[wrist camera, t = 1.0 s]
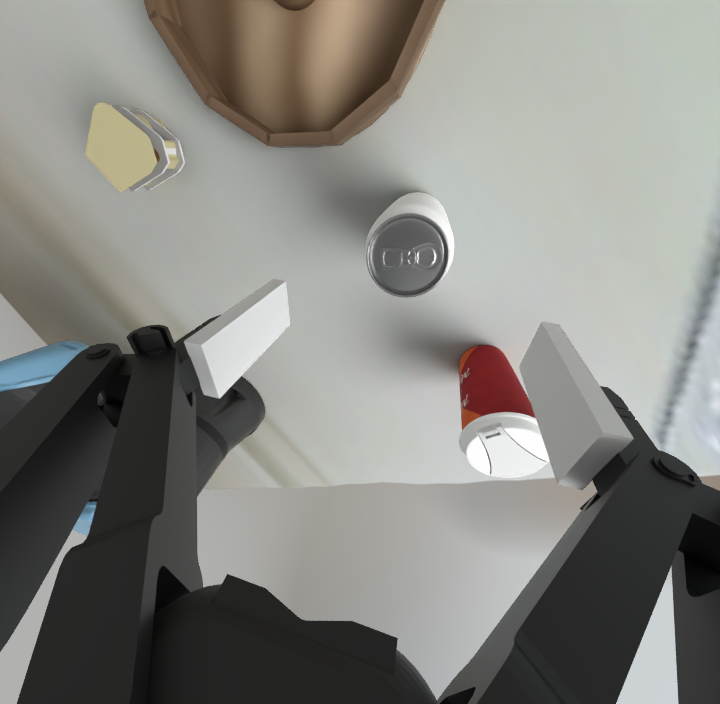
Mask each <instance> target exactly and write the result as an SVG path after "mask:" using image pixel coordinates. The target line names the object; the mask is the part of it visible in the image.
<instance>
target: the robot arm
mask: <svg viewBox="0 0 720 704" xmlns="http://www.w3.org/2000/svg"><path fill="white" fill-rule="evenodd" d="M289 325H290V315H289V306H288V296H287V287H286V281H282V280H276V279H273V280H271V281H270V282H268V283H267V284H266V285H264V286H263V287H261V288H260V289H258V290H257V291H255V292H254V293H253V294H251V295H250V296H248V297H247V298H245V299H244V300H242V301H241V302H240V303H238V304H237V305H235V306H234V307H232V308H231V309H229V310H228V311H227V312H225V313H224V314H222V315H219V316H216V317H213V318H211V319H209V320H207V321H206V322H204V323H203V324H202V326H201V325H200V326H199V327H197V328H196V329H195V330H193V331H191V332H190V333H188V334H187V335H185V336H184V337H182V338H181V339H179V340H178V341H176V342H175V343H174V341H173V339H172V336H171V334H170V331H169V329H168V327H166V326H163V325H150V326H146V327H142V328H139V329H137V330H134V331H133V332H131V333H130V334H129V335H128V336H127V339H128V341H129V343H130V345H131V347H132V349H133V351H134V353H135V354H122V352H121V350H120V348H119V347H118V345H116V344H111V343H105V344H97V345H95V346H94V345H93V346H90V347H89V346H88V345H86V344H84V343H82V342H78V341H63V342H58V343H55V344H52V345H48V346H45V347H42V348H39V349H36V350H33V351H30V352H27V353H24V354H21V355H18V356H15V357H12V358H9V359H6V360H3V361H1V362H0V651H1V650H2V649H3V647H4V646H5V644H6V643H7V642H8V640H9V638H10V637H11V635H12V634H13V632H14V630H15V629H16V627H17V625H18V624H19V622H20V620H21V619H22V617H23V615H24V614H25V612H26V611H27V609H28V607H29V605H30V604H31V602H32V600H33V598H34V597H35V595H36V593H37V591H38V589H39V588H40V586H41V584H42V582H43V581H44V579H45V577H46V575H47V574H48V572H49V570H50V568H51V566H52V564H53V563H54V561H55V559H56V558H57V556H58V554H59V552H60V550H61V549H62V547H63V545H64V543H65V542H66V540H67V538H68V536H69V535H70V533H71V531H72V530H74V531H77V532H79V533H82V534H84V535H87V539H86V540H85V541H84V542H83V543H82V544H79V545H77V546H75V547H72V548H71V549H70V550H69V551H68V553H67V554H66V555H65V557H64V559H63V561H62V563H61V566H60V568H59V571H58V574H57V578H56V581H55V584H54V587H53V590H52V593H51V597H50V600H49V603H48V606H47V609H46V613H45V616H44V619H43V622H42V625H41V628H40V632H39V635H38V638H37V641H36V644H35V648H34V651H33V654H32V657H31V660H30V664H29V667H28V670H27V673H26V676H25V679H24V683H23V686H22V689H21V692H20V695H19V698H18V702H17V704H616V702H617V699H618V697H619V694H620V692H621V690H622V687H623V685H624V682H625V679H626V677H627V675H628V672H629V670H630V667H631V664H632V662H633V659H634V657H635V654H636V652H637V649H638V647H639V645H640V642H641V640H642V637H643V635H644V632H645V630H646V627H647V625H648V622H649V620H650V617H651V615H652V612H653V610H654V607H655V605H656V602H657V599H658V597H659V595H660V592H661V590H662V587H663V585H664V582H665V580H666V577H667V575H668V572H669V570H670V567H671V565H672V581H673V582H672V583H673V601H674V622H675V642H676V662H677V680H678V701H679V704H720V491H718V490H716V489H714V488H711V487H709V486H706V485H704V484H702V482H701V480H700V479H699V477H698V476H697V474H696V473H695V472H694V471H693V470H692V469H691V468H690V467H689V466H688V465H686V464H685V463H683V462H682V461H680V460H679V459H677V458H676V457H674V456H672V455H670V454H668V453H665V452H663V451H659V450H658V449H657V448H656V447H655V445H654V444H653V442H652V441H651V440H650V438H649V437H648V435H647V434H646V432H645V431H644V430H643V428H642V427H641V425H640V424H639V423H638V421H637V420H635V417H634V416H633V414H632V413H631V411H628V410H629V409H628V407H627V406H626V404H625V403H624V402H623V400H622V399H621V398H620V397H619V396H618V395H617V394H615V393H614V392H613V391H612V390H611V389H609V388H607V387H602V386H599V384H598V383H597V381H596V380H595V378H594V377H593V375H592V374H591V372H590V371H589V369H588V368H587V366H586V365H585V363H584V361H583V360H582V358H581V357H580V355H579V354H578V352H577V351H576V349H575V348H574V346H573V345H572V343H571V342H570V340H569V339H568V337H567V335H566V334H565V332H564V331H563V329H562V328H561V326H560V325H559V324H553V323H546V322H541V324H540V326H539V328H538V330H537V332H536V334H535V336H534V338H533V340H532V342H531V344H530V346H529V348H528V350H527V352H526V354H525V356H524V358H523V360H522V362H521V364H520V366H519V369H520V372H521V375H522V378H523V381H524V384H525V387H526V390H527V393H528V396H529V399H530V402H531V405H532V408H533V411H534V414H535V417H536V420H537V423H538V426H539V429H540V433H541V436H542V439H543V442H544V445H545V448H546V451H547V454H548V457H549V460H550V463H551V466H552V469H553V472H554V475H555V478H556V481H557V484H560V485H564V486H568V487H572V488H576V489H579V490H583V489H584V488H585V487H586V486H587V485H588V484H589V483H590V482H591V481H592V480H593V482H594V485H595V487H596V489H597V491H598V492H597V493H596V494H595V495H594V496H592V498H590V499H589V500H588V501H587V502H586V503H585V504H584V505H583V506H582V507H581V508H580V509H581V510H582V511H581V512H580V514H579V515H578V517H577V518H576V520H575V521H574V522H573V523H572V525H571V526H570V527H569V529H568V530H567V531H566V533H565V534H564V535H563V537H562V538H561V540H560V541H559V542H558V543H557V545H556V546H555V548H554V549H553V550H552V552H551V553H550V554H549V556H548V557H547V558H546V560H545V561H544V562H543V564H542V565H541V566H540V568H539V569H538V571H537V572H536V573H535V575H534V576H533V577H532V579H531V580H530V581H529V583H528V584H527V585H526V587H525V588H524V589H523V591H522V592H521V593H520V595H519V596H518V598H517V599H516V600H515V602H514V603H513V604H512V606H511V607H510V608H509V610H508V611H507V612H506V614H505V615H504V617H503V618H502V619H501V620H500V622H499V623H498V625H497V626H496V627H495V629H494V630H493V631H492V633H491V634H490V635H489V637H488V638H487V639H486V641H485V642H484V643H483V645H482V646H481V647H480V649H479V650H478V652H477V653H476V654H475V656H474V657H473V658H472V659H471V661H470V662H469V663H468V664H467V665H466V666H465V667H464V668H463V669H462V670H461V671H460V672H459V673H458V675H457V676H456V677H455V678H454V679H453V680H452V682H451V683H450V685H449V686H448V687H447V688H446V690H445V691H444V692H443V693H442V695H441V696H440V698H439V699H438V700H436V698H435V696H434V694H433V693H432V691H431V690H430V688H429V686H428V685H427V683H426V681H425V680H424V679H423V677H422V676H421V674H420V673H419V672H418V670H416V668H415V667H414V666H413V665H412V664H411V663H410V661H409V660H408V659H407V658H406V657H405V656H404V655H403V654H401V653H400V652H399V651H398V650H397V649H396V648H397V638H395V637H393V636H390V635H387V634H385V633H382V632H380V631H377V630H374V629H372V628H369V627H366V626H364V625H361V624H358V623H356V622H353V621H305V620H302V619H300V618H299V617H297V616H296V615H295V614H294V613H293V612H292V611H291V610H289V609H288V608H287V607H286V606H285V605H284V604H283V603H282V602H280V601H279V600H278V599H277V598H276V597H275V596H274V595H272V594H271V593H270V592H269V591H268V590H267V589H265V588H263V587H260V586H258V585H255V584H252V583H250V582H247V581H244V580H242V579H239V578H236V577H234V576H231V575H228V574H227V576H226V578H225V580H224V582H223V583H222V584H220V585H213V586H208V587H204V588H203V581H202V575H201V571H200V567H199V563H198V556H197V496H198V495H199V493H200V492H201V491H202V489H203V488H204V486H205V485H206V483H207V482H208V481H209V479H210V478H211V476H212V475H213V473H214V472H215V470H216V469H217V468H218V466H219V465H220V463H221V462H222V460H223V459H224V458H225V456H226V455H227V453H228V452H229V451H230V450H231V449H232V448H234V447H235V446H236V445H237V444H239V443H240V442H241V441H242V440H243V439H244V438H246V437H247V436H249V435H251V434H252V433H253V432H254V431H255V430H256V429H257V428H258V426H259V425H260V423H261V422H262V420H263V419H264V416H265V407H264V403H263V401H262V399H261V397H260V395H259V394H258V392H257V391H256V390H255V388H254V387H253V386H252V385H251V384H250V383H249V382H247V381H246V380H245V379H244V378H242V377H241V376H242V375H243V374H244V373H245V372H246V370H247V369H248V368H249V367H250V366H251V365H252V364H253V363H254V362H255V361H256V360H257V359H258V358H259V357H260V356H261V355H262V354H263V353H264V352H265V351H266V349H267V348H268V347H269V346H270V345H271V344H272V343H273V342H274V341H275V340H276V339H277V338H278V337H279V336H280V335H281V334H282V333H283V332H284V331H285V330H286V328H287V327H288V326H289Z"/></svg>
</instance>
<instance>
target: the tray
mask: <svg viewBox="0 0 720 704" xmlns="http://www.w3.org/2000/svg"><path fill="white" fill-rule="evenodd" d="M144 2H145V6H146V9H147V12H148V16H149V19H150V20H151V22H152V23H153V25H154V26H155V28H156V30H157V31H158V33H159V34H160V36H161V37H162V39H163V40H164V42H165V43H166V45H167V46H168V48H169V50H170V51H171V53H172V54H173V56H174V57H175V59H176V60H177V62H178V63H179V65H180V67H181V68H182V70H183V71H184V73H185V74H186V76H187V77H188V79H189V80H190V82H191V84H192V85H193V87H194V88H195V90H196V91H197V93H198V94H199V96H200V97H201V99H202V101H203V102H204V104H205V105H206V106H208V107H209V108H211V109H213V110H214V111H216V112H217V113H219V114H220V115H222V116H223V117H225V118H226V119H228V120H229V121H231V122H232V123H234V124H235V125H237V126H238V127H240V128H241V129H243V130H245V131H246V132H248V133H249V134H251V135H252V136H254V137H255V138H257V139H258V140H260V141H261V142H263V143H264V144H266V145H267V146H273V147H280V148H283V147H320V146H334V145H342V144H344V143H345V142H346V141H347V140H349V139H350V138H351V137H353V136H355V135H357V134H359V133H360V132H361V131H363V130H364V129H366V128H367V127H369V126H370V125H372V124H373V123H374V122H375V121H376V120H377V119H378V118H379V117H380V116H381V115H382V114H384V113H385V112H386V110H387V109H388V108H389V107H390V106H391V105H392V104H393V103H394V102H395V101H397V100H398V99H399V98H400V97H401V95H402V93H403V91H404V88H405V86H406V84H407V83H408V81H409V80H410V78H411V76H412V75H413V73H414V71H415V69H416V67H417V65H418V63H419V61H420V59H421V58H422V55H423V53H424V51H425V48H426V46H427V43H428V41H429V39H430V36H431V34H432V31H433V28H434V25H435V22H436V20H437V17H438V15H439V13H440V11H441V9H442V7H443V4H444V2H445V0H144Z"/></svg>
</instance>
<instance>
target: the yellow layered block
mask: <svg viewBox="0 0 720 704" xmlns="http://www.w3.org/2000/svg"><path fill="white" fill-rule="evenodd" d="M85 156H86V157H87V158H88V159H89V160H90V161H91V162H92V163H93V164H94V165H95V166H96V167H97V168H98V169H99V171H100V172H101V173H102V174H103V175H104V176H105V177H106V178H107V179H108V180H109V181H110V182H111V183H112V184H113V185H114V186H115V187H116V188H117V189H118V190H119V191H120V192H123V191H124V190H126V189H127V188H129V189H130V190H131V191H136V190H137V189H139V188H141V187H142V186H145V187H146V189H147V190H151V189H153V188H155V187H156V186H158V185H161V184H162V183H163V182H164V181H166V180H168V179H169V178H171V177H173V176H174V175H176V174H178V173H179V172H180V170H181V169H182V167H183V166H184V164H185V160H184V156H183V152H182V148H181V144H180V141H179V140H178V139H177V138H176V137H175V136H174V135H173V134H172V133H170V132H169V131H168V130H167V129H166V127H165V126H164V124H163V123H162V122H161V121H160V120H159V119H157V118H155V117H151V116H149V115H148V114H147V113H146V112H144V111H142V110H138V109H132V110H130V111H129V110H128V109H126V108H124V107H122V106H118V105H113V106H110V105H109V104H106V103H98V104H96V105H95V107H94V109H93V113H92V119H91V124H90V129H89V134H88V140H87V145H86V150H85Z"/></svg>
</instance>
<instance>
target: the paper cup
mask: <svg viewBox="0 0 720 704" xmlns="http://www.w3.org/2000/svg"><path fill="white" fill-rule="evenodd" d="M459 376H460V399H461V419H462V432H461V435H460V438H459V444H460V448H461V450H462V452H463V453H464V455H465V456H466V458H467V460H468V461H469V463H470V464H471V465H472V466H473V467H474V468H475V469H477V470H478V471H480V472H482V473H484V474H487V475H490V476H496V477H503V478H515V477H522V476H526V475H529V474H532V473H535V472H537V471H538V470H540V469H541V468H542V467H544V466H545V465H546V464H547V463H548V462H549V457H548V454H547V451H546V448H545V445H544V442H543V439H542V436H541V433H540V429H539V426H538V423H537V420H536V417H535V414H534V411H533V408H532V405H531V403H530V401H529V399H528V397H527V395H526V393H525V391H524V389H523V387H522V386H521V384H520V382H519V380H518V378H517V376H516V374H515V372H514V371H513V369H512V367H511V365H510V363H509V362H508V360H507V358H506V356H505V355H504V353H503V352H502V351H501V350H500V349H498V348H496V347H494V346H490V345H479V346H475V347H472V348H470V349H469V350H467V351H466V352H465V353H464V354H463V355H462V357H461V359H460V364H459Z"/></svg>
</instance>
